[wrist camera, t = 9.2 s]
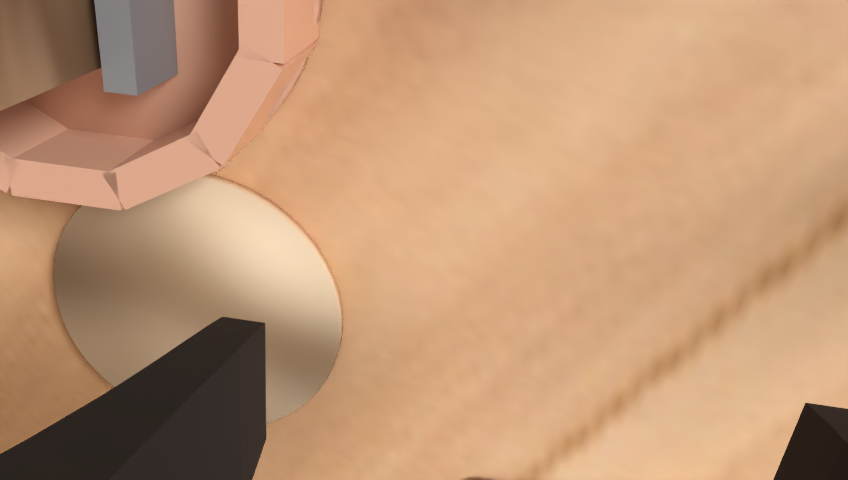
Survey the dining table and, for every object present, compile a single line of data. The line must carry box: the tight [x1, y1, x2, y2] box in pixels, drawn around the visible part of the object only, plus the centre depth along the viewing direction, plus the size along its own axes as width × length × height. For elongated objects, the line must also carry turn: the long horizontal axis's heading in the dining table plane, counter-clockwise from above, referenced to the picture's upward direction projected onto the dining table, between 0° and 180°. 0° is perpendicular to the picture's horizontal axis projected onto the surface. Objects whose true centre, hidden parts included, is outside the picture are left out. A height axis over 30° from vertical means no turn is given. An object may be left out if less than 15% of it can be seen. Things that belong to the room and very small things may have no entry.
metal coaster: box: [53, 174, 343, 424], centre depth 22 cm, size 9×9×1 cm
